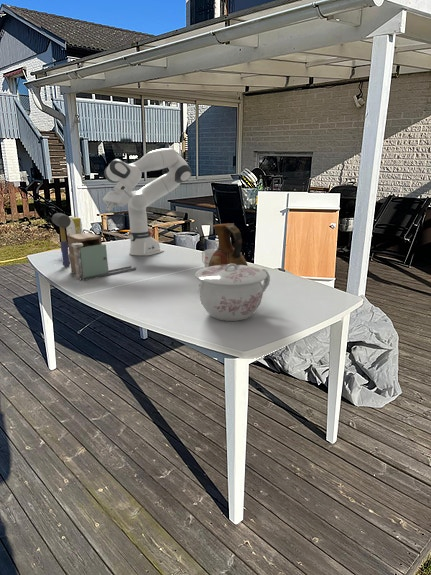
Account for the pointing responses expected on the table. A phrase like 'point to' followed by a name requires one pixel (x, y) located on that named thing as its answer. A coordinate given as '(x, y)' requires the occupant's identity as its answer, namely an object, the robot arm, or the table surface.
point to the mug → (207, 256)
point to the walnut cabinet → (74, 249)
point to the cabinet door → (93, 260)
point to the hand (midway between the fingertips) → (107, 210)
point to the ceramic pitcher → (227, 246)
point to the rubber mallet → (62, 234)
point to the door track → (111, 272)
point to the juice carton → (74, 226)
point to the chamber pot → (231, 290)
